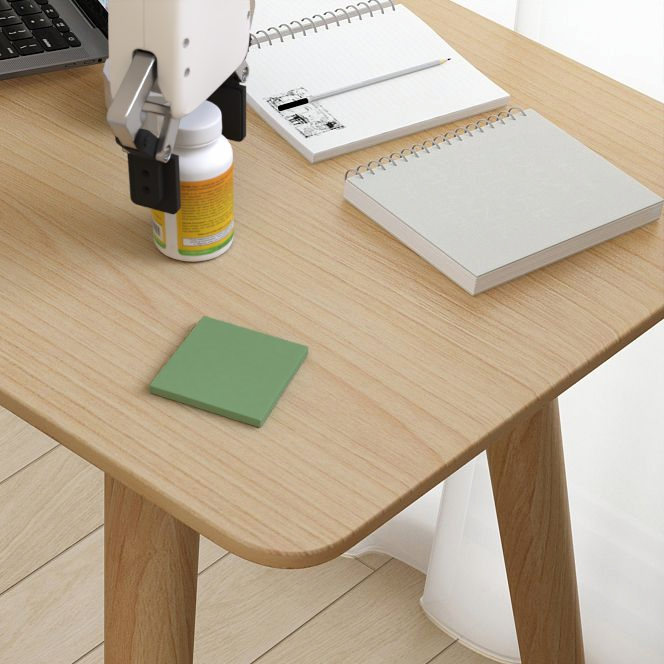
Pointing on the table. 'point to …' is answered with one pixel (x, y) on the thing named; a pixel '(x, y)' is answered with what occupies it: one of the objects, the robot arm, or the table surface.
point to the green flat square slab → (230, 371)
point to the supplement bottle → (199, 190)
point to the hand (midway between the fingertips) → (190, 169)
